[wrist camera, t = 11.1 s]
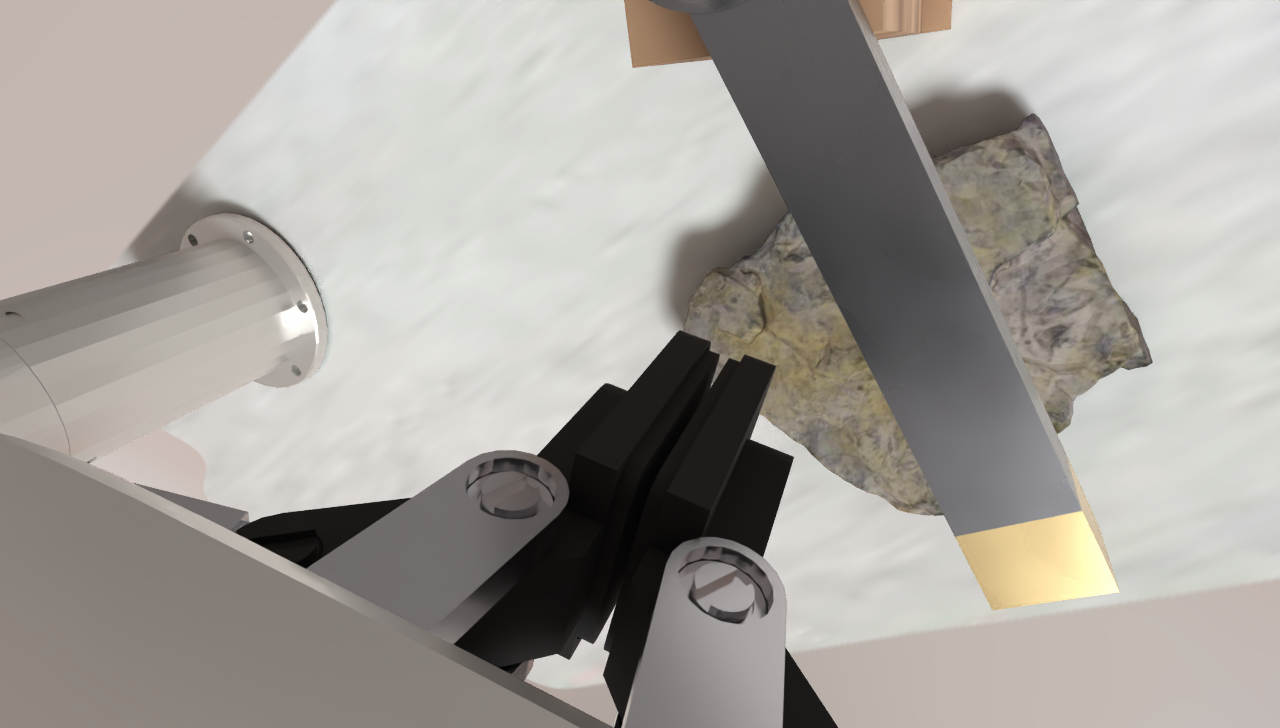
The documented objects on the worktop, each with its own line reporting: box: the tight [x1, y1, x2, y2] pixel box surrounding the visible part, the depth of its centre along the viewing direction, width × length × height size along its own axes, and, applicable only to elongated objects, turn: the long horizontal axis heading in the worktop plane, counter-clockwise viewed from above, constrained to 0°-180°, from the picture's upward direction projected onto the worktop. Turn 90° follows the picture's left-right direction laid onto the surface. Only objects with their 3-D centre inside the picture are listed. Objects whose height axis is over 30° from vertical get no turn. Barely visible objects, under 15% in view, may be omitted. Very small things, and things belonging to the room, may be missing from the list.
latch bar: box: [649, 0, 1119, 610], centre depth 10 cm, size 13×3×2 cm, turn 32°
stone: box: [683, 114, 1153, 516], centre depth 30 cm, size 18×15×4 cm
